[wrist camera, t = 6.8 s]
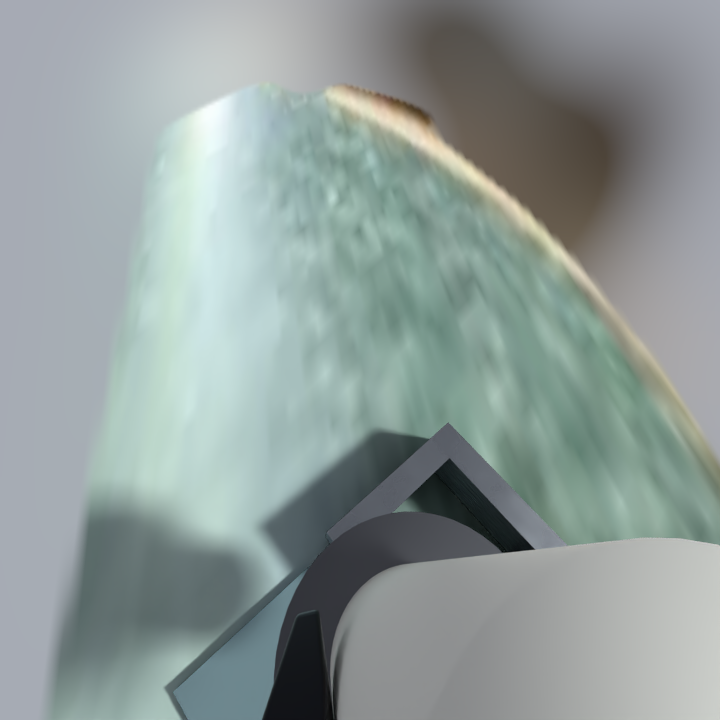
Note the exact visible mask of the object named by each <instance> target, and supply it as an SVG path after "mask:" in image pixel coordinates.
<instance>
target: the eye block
mask: <svg viewBox="0 0 720 720" xmlns="http://www.w3.org/2000/svg"><path fill="white" fill-rule="evenodd" d="M434 472H435V473H436V474H437V475H438V476H439V477H440V478H441V480H442V481H443V482H444V483H445V484H446V485H447V486H448V487H449V488H450V489H451V491H452V492H453V493H454V494H455V495H456V496H457V497H458V498H459V499H460V500H461V502H462V503H463V504H464V505H465V506H466V507H467V508H468V509H469V510H470V511H471V513H472V514H473V515H474V516H475V517H476V518H477V519H478V520H479V521H480V522H481V524H482V525H483V526H484V527H485V528H486V529H487V530H488V531H489V532H490V533H491V535H492V536H493V537H494V538H495V539H496V540H497V541H498V542H499V543H500V544H501V546H502V547H503V548H504V549H505V550H506V551H507V552H508V553H510V552H519V551H528V550H537V549H546V548H555V547H564V546H567V545H566V543H565V542H564V541H563V540H562V539H561V538H560V537H559V536H558V535H557V534H556V533H555V532H554V531H553V530H552V529H551V528H550V527H549V526H548V525H547V524H546V523H545V522H544V521H543V520H542V519H541V518H540V517H539V516H538V515H537V514H536V513H535V511H534V510H533V509H532V508H531V507H530V506H529V505H528V504H527V503H526V502H525V501H524V500H523V499H522V498H521V497H520V496H519V495H518V494H517V493H516V492H515V491H514V490H513V489H512V488H511V487H510V486H509V485H508V484H507V483H506V482H505V481H504V479H503V478H502V477H501V476H500V475H499V474H498V473H497V472H496V471H495V470H494V469H493V468H492V467H491V466H490V465H489V464H488V463H487V462H486V461H485V460H484V459H483V458H482V457H481V456H480V455H479V454H478V453H477V452H476V451H475V450H474V449H473V448H472V446H471V445H470V444H469V443H468V442H467V441H466V440H465V439H464V438H463V437H462V436H461V435H460V434H459V433H458V432H457V431H456V430H455V429H454V428H453V427H452V426H451V425H450V424H449V423H447V424H446V425H445V426H444V427H443V428H441V429H440V430H439V431H438V432H437V433H436V434H435V435H434V436H433V437H432V438H430V439H429V440H428V441H427V442H426V443H425V444H424V445H423V446H422V447H420V448H419V449H418V450H417V451H416V452H415V453H414V454H413V455H412V456H410V457H409V458H408V459H407V460H406V461H405V462H404V463H403V464H402V465H401V466H399V467H398V468H397V469H396V470H395V471H394V472H393V473H392V474H391V475H389V476H388V477H387V478H386V479H385V480H384V481H383V482H382V483H381V484H380V485H378V486H377V487H376V488H375V489H374V490H373V491H372V492H371V493H370V494H368V495H367V496H366V497H365V498H364V499H363V500H362V501H361V502H360V503H358V504H357V505H356V506H355V507H354V508H353V509H352V510H351V511H350V512H349V513H347V514H346V515H345V516H344V517H343V518H342V519H341V520H340V521H339V522H337V523H336V524H335V525H334V526H333V527H332V528H331V529H330V530H329V531H327V532H326V538H327V540H328V541H329V542H330V543H332V542H333V541H334V540H335V539H337V538H338V537H339V536H340V535H342V534H343V533H344V532H346V531H348V530H349V529H351V528H353V527H354V526H356V525H358V524H360V523H362V522H364V521H367V520H369V519H372V518H374V517H378V516H382V515H385V514H389V513H392V512H393V511H395V510H396V509H397V508H398V507H399V506H400V505H401V504H402V503H403V502H404V501H405V500H406V499H407V498H408V497H409V496H410V495H411V494H412V493H413V492H414V491H415V490H417V489H418V488H419V487H420V486H421V485H422V484H423V483H424V482H425V481H426V480H427V479H428V478H429V477H430V476H431V475H432V474H433V473H434Z"/></svg>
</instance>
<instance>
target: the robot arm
mask: <svg viewBox="0 0 720 720" xmlns="http://www.w3.org/2000/svg"><path fill="white" fill-rule="evenodd" d="M262 720H334V716H333V708H332V700H331V692H330V685H329V677H328V669H327V661H326V654H325V646H324V639H323V632H322V625H321V618H320V613H319V611H318V610H311V611H307V612H303V613H299V614H298V615H297V616H296V618H295V620H294V623H293V626H292V629H291V632H290V635H289V638H288V641H287V644H286V647H285V650H284V654H283V657H282V660H281V663H280V666H279V669H278V672H277V675H276V678H275V681H274V684H273V687H272V690H271V693H270V696H269V699H268V702H267V705H266V708H265V711H264V714H263V717H262Z"/></svg>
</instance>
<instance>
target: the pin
mask: <svg viewBox="0 0 720 720" xmlns="http://www.w3.org/2000/svg"><path fill="white" fill-rule="evenodd" d="M311 610H318V611H319V613H320V618H321V625H322V632H323V639H324V646H325V654H326V661H327V669H328V677H329V685H330V692H331V700H332V708H333V716H334V720H720V545H716V544H710V543H704V542H698V541H692V540H686V539H680V538H636V539H627V540H618V541H609V542H600V543H591V544H582V545H573V546H564V547H555V548H546V549H537V550H528V551H519V552H510V553H502V552H501V551H500V550H499V549H498V548H497V547H496V546H495V545H494V544H492V543H491V542H490V541H488V540H487V539H486V538H485V537H483V536H482V535H481V534H479V533H477V532H476V531H474V530H472V529H471V528H469V527H468V526H465V525H463V524H461V523H459V522H457V521H455V520H452V519H449V518H446V517H443V516H439V515H436V514H430V513H424V512H398V513H389V514H385V515H382V516H378V517H374V518H372V519H369V520H367V521H364V522H362V523H360V524H358V525H356V526H354V527H353V528H351V529H349V530H348V531H346V532H344V533H343V534H342V535H340V536H339V537H338V538H337V539H335V540H334V541H333V542H332V543H330V544H329V545H328V547H327V548H326V549H325V550H324V551H323V552H322V553H321V554H320V555H319V556H318V557H317V558H316V559H315V561H314V562H313V563H312V565H311V566H310V567H309V569H308V570H307V571H306V573H305V575H304V576H303V578H302V580H301V581H300V583H299V585H298V587H297V588H296V590H295V592H294V595H293V597H292V599H291V602H290V604H289V606H288V608H287V611H286V614H285V618H284V621H283V624H282V627H281V630H280V635H279V640H278V645H277V650H276V658H275V669H274V681H275V678H276V675H277V672H278V669H279V666H280V663H281V660H282V657H283V654H284V650H285V647H286V644H287V641H288V638H289V635H290V632H291V629H292V626H293V623H294V620H295V618H296V616H297V615H298V614H299V613H303V612H307V611H311Z"/></svg>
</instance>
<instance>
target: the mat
mask: <svg viewBox="0 0 720 720" xmlns="http://www.w3.org/2000/svg"><path fill="white" fill-rule="evenodd" d="M308 569H309V568H307V569H306V570H304V571H303V572H302V573H301V574H300V575H299V576H298V577H297V578H296V579H295V580H294V581H293V582H291V583H290V584H289V585H288V586H287V587H286V588H285V589H284V590H283V591H282V592H281V593H280V594H278V595H277V596H276V597H275V598H274V599H273V600H272V601H271V602H270V603H269V604H268V605H267V606H265V607H264V608H263V609H262V610H261V611H260V612H259V613H258V614H257V615H256V616H255V617H254V618H253V619H251V620H250V621H249V622H248V623H247V624H246V625H245V626H244V627H243V628H242V629H241V630H240V631H238V632H237V633H236V634H235V635H234V636H233V637H232V638H231V639H230V640H229V641H228V642H227V643H225V644H224V645H223V646H222V647H221V648H220V649H219V650H218V651H217V652H216V653H215V654H214V655H212V656H211V657H210V658H209V659H208V660H207V661H206V662H205V663H204V664H203V665H202V666H201V667H200V668H198V669H197V670H196V671H195V672H194V673H193V674H192V675H191V676H190V677H189V678H188V679H187V680H185V681H184V682H183V683H182V684H181V685H180V686H179V687H178V688H177V689H176V690H175V691H174V692H173V693H174V695H175V697H176V699H177V701H178V702H179V704H180V706H181V708H182V710H183V712H184V714H185V715H186V717H187V719H188V720H262V717H263V714H264V711H265V708H266V705H267V702H268V699H269V696H270V693H271V690H272V687H273V684H274V669H275V658H276V650H277V645H278V640H279V635H280V630H281V627H282V624H283V621H284V618H285V614H286V611H287V608H288V606H289V604H290V602H291V599H292V597H293V595H294V592H295V590H296V588H297V587H298V585H299V583H300V581H301V580H302V578H303V576H304V575H305V573H306V571H307V570H308Z"/></svg>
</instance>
